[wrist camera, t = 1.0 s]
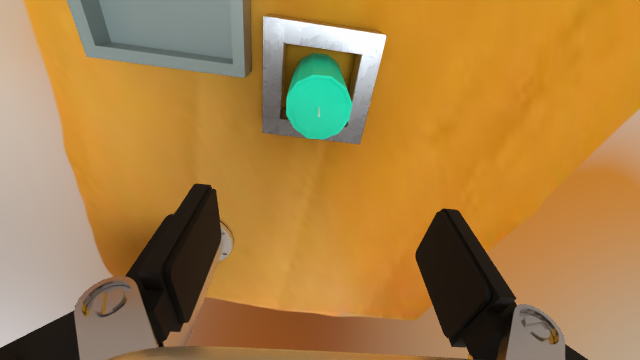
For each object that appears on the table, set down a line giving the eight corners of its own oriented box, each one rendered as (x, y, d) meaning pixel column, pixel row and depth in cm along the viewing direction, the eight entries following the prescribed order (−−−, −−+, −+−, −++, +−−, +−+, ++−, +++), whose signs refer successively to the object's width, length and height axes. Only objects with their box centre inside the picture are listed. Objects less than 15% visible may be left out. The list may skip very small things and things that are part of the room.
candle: (321, 40, 29) (325, 61, 19) (352, 83, 32) (368, 120, 22) (283, 75, 31) (268, 110, 21) (314, 113, 34) (314, 159, 24)
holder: (355, 130, 35) (359, 144, 32) (267, 120, 34) (262, 132, 31) (378, 31, 29) (386, 35, 25) (269, 14, 28) (263, 16, 24)
